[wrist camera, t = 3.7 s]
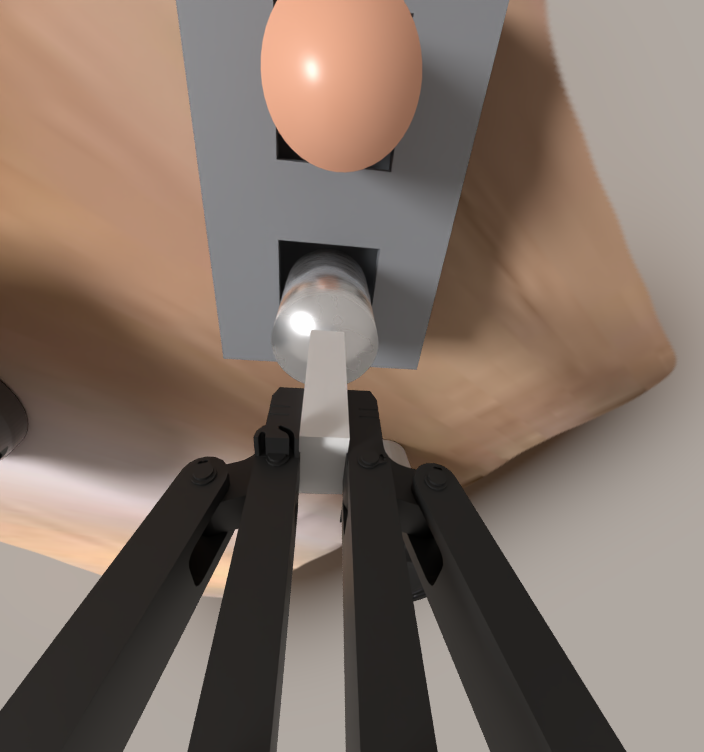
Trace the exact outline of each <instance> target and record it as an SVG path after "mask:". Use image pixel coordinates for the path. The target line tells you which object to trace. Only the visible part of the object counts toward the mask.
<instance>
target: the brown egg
mask: <svg viewBox="0 0 704 752" xmlns="http://www.w3.org/2000/svg"><path fill="white" fill-rule="evenodd" d="M261 79H262V87H263V92H264V97H265V100H266V104H267V107H268V110H269V113H270V115H271V117H272V120H273V122H274V124H275V126H276V128H277V129H278V131H279V133H280V134H281V136H282V137H283V139H284V140H285V141H286V143H287V144H288V145H289V146H290V147H291V148H292V149H293V150H294V151H295V152H296V153H297V154H298V155H299V156H300V157H302V158H303V159H304V160H306V161H307V162H309V163H311V164H313V165H315V166H317V167H319V168H322V169H325V170H328V171H333V172H354V171H358V170H362V169H365V168H367V167H369V166H372V165H374V164H375V163H377V162H379V161H380V160H382V159H383V158H384V157H385V156H387V155H388V154H389V153H390V152H391V151H392V150H393V149H394V148H395V147H396V146H397V144H398V143H399V142H400V140H401V139H402V138H403V136H404V134H405V133H406V131H407V129H408V128H409V126H410V123H411V121H412V119H413V117H414V114H415V111H416V108H417V105H418V100H419V96H420V91H421V83H422V54H421V47H420V41H419V36H418V33H417V29H416V26H415V23H414V20H413V18H412V16H411V13H410V11H409V9H408V7H407V5H406V4H405V2H404V0H277V2H276V4H275V6H274V8H273V10H272V12H271V14H270V17H269V19H268V22H267V25H266V28H265V33H264V37H263V41H262V50H261Z"/></svg>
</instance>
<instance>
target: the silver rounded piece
mask: <svg viewBox="0 0 704 752" xmlns="http://www.w3.org/2000/svg"><path fill="white" fill-rule="evenodd" d="M311 330H323V331H338V332H344V336H345V356H346V376H347V383H350V382H352V381H354V380H356V379H357V378H359V377H360V376H361V375H363V374H364V373H365V372H366V371H367V370H368V369H369V367H370V366H371V365H372V363H373V361H374V359H375V357H376V354H377V350H378V334H377V329H376V324H375V320H374V315H373V310H372V305H371V301H370V296H369V291H368V286H367V282H366V277H365V275H364V272H363V270H362V268H361V267H360V265H359V264H358V263H357V262H356V261H355V260H354V259H353V258H352V257H350V256H349V255H347V254H346V253H343V252H341V251H338V250H334V249H318V250H314V251H311V252H309V253H307V254H305V255H303V256H302V257H301V258H299V259H298V260H297V261H296V262H295V264H294V265H293V266H292V268H291V270H290V272H289V275H288V278H287V281H286V285H285V288H284V292H283V295H282V299H281V302H280V306H279V309H278V313H277V316H276V320H275V323H274V327H273V330H272V336H271V344H272V350H273V354H274V356H275V359H276V360H277V362H278V364H279V365H280V366H281V368H282V369H283V370H284V371H285V372H286V373H287V374H288V375H290V376H291V377H292V378H294V379H296V380H297V381H299V382H302V383H304V384H305V379H306V369H307V360H308V351H309V342H310V332H311Z"/></svg>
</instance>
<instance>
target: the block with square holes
mask: <svg viewBox="0 0 704 752" xmlns="http://www.w3.org/2000/svg"><path fill="white" fill-rule="evenodd" d="M276 2H277V0H176V5H177V12H178V20H179V27H180V35H181V42H182V50H183V57H184V65H185V72H186V80H187V87H188V95H189V102H190V110H191V117H192V125H193V132H194V140H195V148H196V155H197V163H198V170H199V178H200V185H201V193H202V200H203V208H204V215H205V223H206V230H207V238H208V245H209V253H210V260H211V268H212V275H213V283H214V290H215V298H216V305H217V313H218V320H219V328H220V335H221V343H222V350H223V358H224V359H241V360H258V361H275V362H277V360H276V359H275V356H274V354H273V350H272V344H271V336H272V330H273V327H274V323H275V320H276V316H277V313H278V309H279V306H280V302H281V299H282V295H283V292H284V288H285V285H286V281H287V278H288V275H289V272H290V270H291V268H292V266H293V265H294V264H295V262H296V261H297V260H298V259H299V258H301V257H302V256H303V255H305V254H307V253H309V252H311V251H314V250H318V249H334V250H338V251H341V252H343V253H346V254H347V255H349V256H350V257H352V258H353V259H354V260H355V261H356V262H357V263H358V264H359V265H360V267H361V268H362V270H363V272H364V275H365V277H366V282H367V286H368V291H369V296H370V301H371V305H372V310H373V315H374V320H375V324H376V329H377V334H378V350H377V354H376V357H375V359H374V361H373V363H372V365H371V366H370V367H380V368H398V369H415V370H417V366H418V362H419V358H420V354H421V350H422V346H423V342H424V338H425V334H426V330H427V326H428V322H429V318H430V314H431V310H432V306H433V302H434V298H435V294H436V290H437V286H438V282H439V278H440V274H441V270H442V266H443V262H444V258H445V254H446V250H447V246H448V242H449V238H450V234H451V230H452V226H453V222H454V218H455V214H456V211H457V207H458V203H459V199H460V195H461V191H462V187H463V183H464V179H465V175H466V171H467V167H468V163H469V159H470V155H471V151H472V147H473V143H474V139H475V135H476V131H477V127H478V123H479V119H480V115H481V111H482V107H483V103H484V99H485V95H486V91H487V87H488V83H489V79H490V75H491V71H492V67H493V63H494V59H495V55H496V51H497V47H498V43H499V39H500V35H501V31H502V27H503V23H504V19H505V15H506V11H507V7H508V3H509V0H404V2H405V4H406V5H407V7H408V9H409V11H410V13H411V16H412V18H413V20H414V23H415V26H416V29H417V33H418V36H419V41H420V47H421V54H422V83H421V91H420V96H419V100H418V105H417V108H416V111H415V114H414V117H413V119H412V121H411V123H410V126H409V128H408V129H407V131H406V133H405V134H404V136H403V138H402V139H401V140H400V142H399V143H398V144H397V146H396V147H395V148H394V149H393V150H392V151H391V152H390V153H389V154H388V155H387V156H385V157H384V158H383V159H382V160H380V161H379V162H377V163H375V164H374V165H372V166H369V167H367V168H365V169H362V170H358V171H354V172H333V171H328V170H325V169H322V168H319V167H317V166H315V165H313V164H311V163H309V162H307V161H306V160H304V159H303V158H302V157H300V156H299V155H298V154H297V153H296V152H295V151H294V150H293V149H292V148H291V147H290V146H289V145H288V144H287V143H286V141H285V140H284V139H283V137H282V136H281V134H280V133H279V131H278V129H277V128H276V126H275V124H274V122H273V120H272V117H271V115H270V113H269V110H268V107H267V104H266V100H265V97H264V92H263V87H262V79H261V50H262V41H263V37H264V33H265V28H266V25H267V22H268V19H269V17H270V14H271V12H272V10H273V8H274V6H275V4H276Z"/></svg>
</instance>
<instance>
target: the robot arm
mask: <svg viewBox="0 0 704 752" xmlns="http://www.w3.org/2000/svg"><path fill="white" fill-rule="evenodd" d="M27 429H28V421H27V417H26V413H25V411H24V409H23V407H22V405H21V404H20V402H19V400H18V399H17V398H16V396H15V395H14V394H13V393H12V392H11V391H10V390H9V389H8V388H7V387H6V386H5V385H4V384H3V383H2V382H1V381H0V460H2V459H3V458H4V457H6V456H7V455H8V454H9V453H10V452H11V451H12V450H13V449H14V448H15V447H16V446H17V445H18V444H19V443H20V442H21V441H22V440H23V438H24V437H25V435H26V433H27ZM253 438H254V449H255V454H254V455H253V456H251V457H249V458H247V459H245V460H242V461H239V462H235V463H231V464H225V462H224V461H223V460H221V459H219V458H216V457H203V458H198V459H196V460H194V461H192V462H190V463H188V464H187V465H186V466H185V467H184V468H183V469H182V470H181V472H180V473H179V474H178V476H177V477H176V478H175V480H174V481H173V482H172V484H171V485H170V486H169V488H168V489H167V490H166V492H165V493H164V494H163V496H162V497H161V498H160V500H159V501H158V502H157V504H156V505H155V506H154V508H153V509H152V510H151V512H150V513H149V514H148V516H147V517H146V518H145V520H144V521H143V522H142V524H141V525H140V526H139V528H138V529H137V530H136V532H135V533H134V534H133V535H132V537H131V538H130V539H129V541H128V542H127V543H126V545H125V546H124V547H123V549H122V550H121V551H120V553H119V554H118V555H117V557H116V558H115V559H114V561H113V562H112V563H111V565H110V566H109V567H108V569H107V570H106V571H105V573H104V574H103V575H102V577H101V578H100V579H99V581H98V582H97V583H96V585H95V586H94V587H93V589H92V590H91V591H90V593H89V594H88V595H87V597H86V598H85V599H84V601H83V602H82V603H81V604H80V606H79V607H78V608H77V610H76V611H75V612H74V614H73V615H72V616H71V618H70V619H69V621H68V622H67V623H66V624H65V626H64V627H63V628H62V630H61V631H60V632H59V634H58V635H57V636H56V638H55V639H54V640H53V642H52V643H51V644H50V646H49V647H48V649H47V650H46V651H45V652H44V654H43V655H42V656H41V658H40V659H39V660H38V662H37V663H36V664H35V666H34V667H33V668H32V670H31V671H30V672H29V674H28V675H27V676H26V678H25V679H24V680H23V681H22V683H21V684H20V685H19V687H18V688H17V689H16V691H15V693H14V694H13V695H12V696H11V697H10V699H9V700H8V701H7V703H6V704H5V706H4V707H3V708H2V709H1V711H0V752H123V750H124V748H125V746H126V744H127V742H128V740H129V738H130V736H131V734H132V732H133V730H134V728H135V726H136V725H137V723H138V720H139V718H140V717H141V715H142V713H143V711H144V709H145V707H146V705H147V703H148V701H149V699H150V697H151V695H152V693H153V691H154V689H155V687H156V685H157V683H158V681H159V679H160V677H161V675H162V673H163V671H164V669H165V667H166V665H167V663H168V661H169V659H170V657H171V655H172V653H173V651H174V649H175V647H176V646H177V644H178V642H179V640H180V638H181V635H182V634H183V632H184V630H185V628H186V626H187V624H188V622H189V620H190V618H191V616H192V614H193V612H194V610H195V608H196V606H197V604H198V602H199V600H200V598H201V596H202V594H203V592H204V590H205V588H206V586H207V584H208V582H209V580H210V578H211V576H212V574H213V572H214V570H215V568H216V567H217V565H218V563H219V561H220V559H221V557H222V555H223V553H224V551H225V549H226V547H227V545H228V543H229V541H230V539H231V537H232V535H233V533H234V531H235V529H238V528H239V529H238V533H237V538H236V542H235V546H234V551H233V555H232V560H231V564H230V568H229V573H228V577H227V581H226V586H225V590H224V594H223V599H222V603H221V608H220V612H219V617H218V621H217V625H216V629H215V634H214V639H213V643H212V647H211V651H210V656H209V660H208V665H207V669H206V673H205V678H204V682H203V686H202V691H201V695H200V699H199V704H198V709H197V713H196V717H195V721H194V726H193V730H192V734H191V739H190V743H189V748H188V752H276V751H277V741H278V728H279V717H280V706H281V695H282V684H283V672H284V660H285V650H286V638H287V627H288V616H289V604H290V593H291V582H292V581H291V580H292V570H293V559H294V548H295V536H296V525H297V514H298V495H299V493H312V494H342V491H343V503H342V510H341V517H340V522H342V556H343V558H342V560H343V609H344V610H343V616H344V669H345V670H344V673H345V728H346V752H438V751H437V745H436V739H435V733H434V726H433V720H432V715H431V708H430V702H429V696H428V690H427V683H426V677H425V671H424V665H423V660H422V653H421V647H420V640H419V634H418V628H417V622H416V617H415V610H414V604H413V597H412V591H411V585H410V579H409V573H408V567H407V561H406V554H405V548H404V543H405V545H406V548H407V550H408V553H409V555H410V557H411V560H412V562H413V565H414V567H415V570H416V572H417V574H418V577H419V579H420V582H421V584H422V587H423V589H424V591H425V594H426V596H427V598H428V601H429V604H430V606H431V608H432V611H433V613H434V616H435V618H436V621H437V623H438V625H439V628H440V630H441V633H442V635H443V638H444V640H445V643H446V645H447V647H448V650H449V652H450V654H451V657H452V660H453V662H454V664H455V667H456V669H457V671H458V674H459V677H460V679H461V681H462V684H463V686H464V689H465V691H466V694H467V696H468V698H469V701H470V703H471V705H472V708H473V711H474V713H475V715H476V718H477V720H478V722H479V725H480V728H481V730H482V732H483V735H484V737H485V740H486V742H487V745H488V747H489V749H490V752H626V750H625V749H624V747H623V746H622V744H621V742H620V741H619V739H618V738H617V736H616V734H615V733H614V731H613V730H612V728H611V726H610V725H609V723H608V721H607V720H606V718H605V717H604V715H603V714H602V712H601V710H600V709H599V707H598V705H597V704H596V702H595V701H594V699H593V698H592V696H591V694H590V693H589V691H588V689H587V688H586V686H585V685H584V683H583V682H582V680H581V678H580V676H579V675H578V673H577V672H576V670H575V668H574V667H573V665H572V664H571V662H570V660H569V659H568V657H567V656H566V654H565V652H564V651H563V649H562V647H561V646H560V644H559V643H558V641H557V639H556V638H555V636H554V635H553V633H552V631H551V630H550V628H549V627H548V625H547V623H546V622H545V620H544V619H543V617H542V615H541V614H540V612H539V611H538V609H537V607H536V606H535V604H534V602H533V601H532V599H531V598H530V596H529V595H528V593H527V591H526V590H525V588H524V586H523V585H522V583H521V582H520V580H519V578H518V577H517V575H516V574H515V572H514V570H513V569H512V567H511V566H510V564H509V562H508V561H507V559H506V558H505V556H504V554H503V553H502V551H501V550H500V548H499V546H498V545H497V543H496V541H495V540H494V538H493V537H492V535H491V533H490V532H489V530H488V529H487V527H486V525H485V524H484V522H483V520H482V519H481V517H480V516H479V514H478V512H477V511H476V509H475V508H474V506H473V505H472V503H471V501H470V500H469V498H468V496H467V495H466V493H465V492H464V490H463V488H462V487H461V485H460V484H459V482H458V480H457V479H456V477H455V476H454V475H453V474H452V472H451V471H450V470H448V469H447V468H445V467H444V466H442V465H438V464H435V463H426V464H423V465H421V466H419V467H418V468H417V470H415V469H412V468H409V467H405V466H403V465H400V464H398V463H396V462H395V461H393V460H392V459H391V458H390V457H389V456H388V454H387V453H386V452H385V449H384V445H383V439H382V432H381V426H380V419H379V413H378V406H377V400H376V398H375V397H374V396H373V394H372V393H371V392H370V391H357V390H347V376H346V356H345V336H344V332H338V331H323V330H311V332H310V342H309V351H308V360H307V369H306V379H305V388H304V389H303V388H284V387H280V388H279V389H278V390H277V391H276V392H275V393H274V394H273V395H272V400H271V404H270V409H269V414H268V418H267V422H266V425H264V426H262V427H261V428H260V429H259V430H257V431H256V433H255V435H254V437H253ZM403 540H404V542H403Z"/></svg>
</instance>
